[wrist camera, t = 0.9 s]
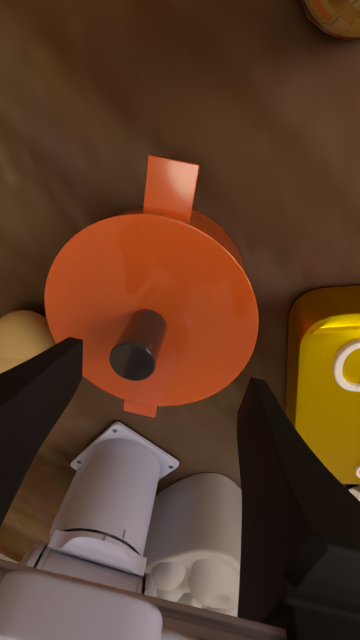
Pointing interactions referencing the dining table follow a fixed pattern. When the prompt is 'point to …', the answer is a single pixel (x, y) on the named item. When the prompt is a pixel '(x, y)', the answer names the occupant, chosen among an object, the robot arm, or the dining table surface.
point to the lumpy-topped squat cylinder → (197, 543)
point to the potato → (23, 337)
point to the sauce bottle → (335, 17)
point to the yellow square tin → (326, 377)
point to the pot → (175, 215)
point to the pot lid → (153, 308)
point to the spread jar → (355, 491)
